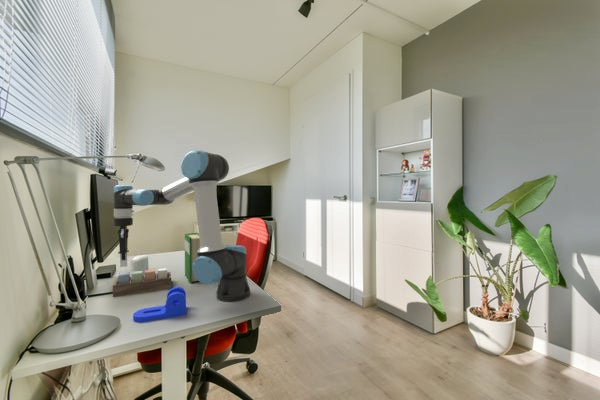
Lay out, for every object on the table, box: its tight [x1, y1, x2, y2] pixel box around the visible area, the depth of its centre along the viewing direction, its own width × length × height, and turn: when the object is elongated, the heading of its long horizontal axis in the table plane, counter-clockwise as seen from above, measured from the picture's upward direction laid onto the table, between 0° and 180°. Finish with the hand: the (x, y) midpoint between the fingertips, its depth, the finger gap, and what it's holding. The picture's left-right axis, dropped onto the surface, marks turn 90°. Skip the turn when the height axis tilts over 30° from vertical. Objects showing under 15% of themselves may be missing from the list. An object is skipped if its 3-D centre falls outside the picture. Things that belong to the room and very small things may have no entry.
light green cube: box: [132, 271, 143, 282], centre depth 131 cm, size 4×4×4 cm
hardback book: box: [184, 232, 200, 285], centre depth 148 cm, size 18×7×24 cm, turn 31°
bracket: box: [132, 286, 187, 323], centre depth 103 cm, size 18×8×9 cm, turn 114°
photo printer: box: [130, 254, 149, 277], centre depth 149 cm, size 10×4×12 cm, turn 172°
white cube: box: [157, 267, 168, 279], centre depth 136 cm, size 4×4×4 cm
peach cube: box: [145, 269, 156, 281], centre depth 133 cm, size 4×4×4 cm
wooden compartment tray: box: [112, 271, 172, 297], centre depth 132 cm, size 12×24×5 cm, turn 118°
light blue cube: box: [117, 271, 131, 284], centre depth 128 cm, size 4×4×4 cm
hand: (123, 266), depth 128 cm, fingers closed
